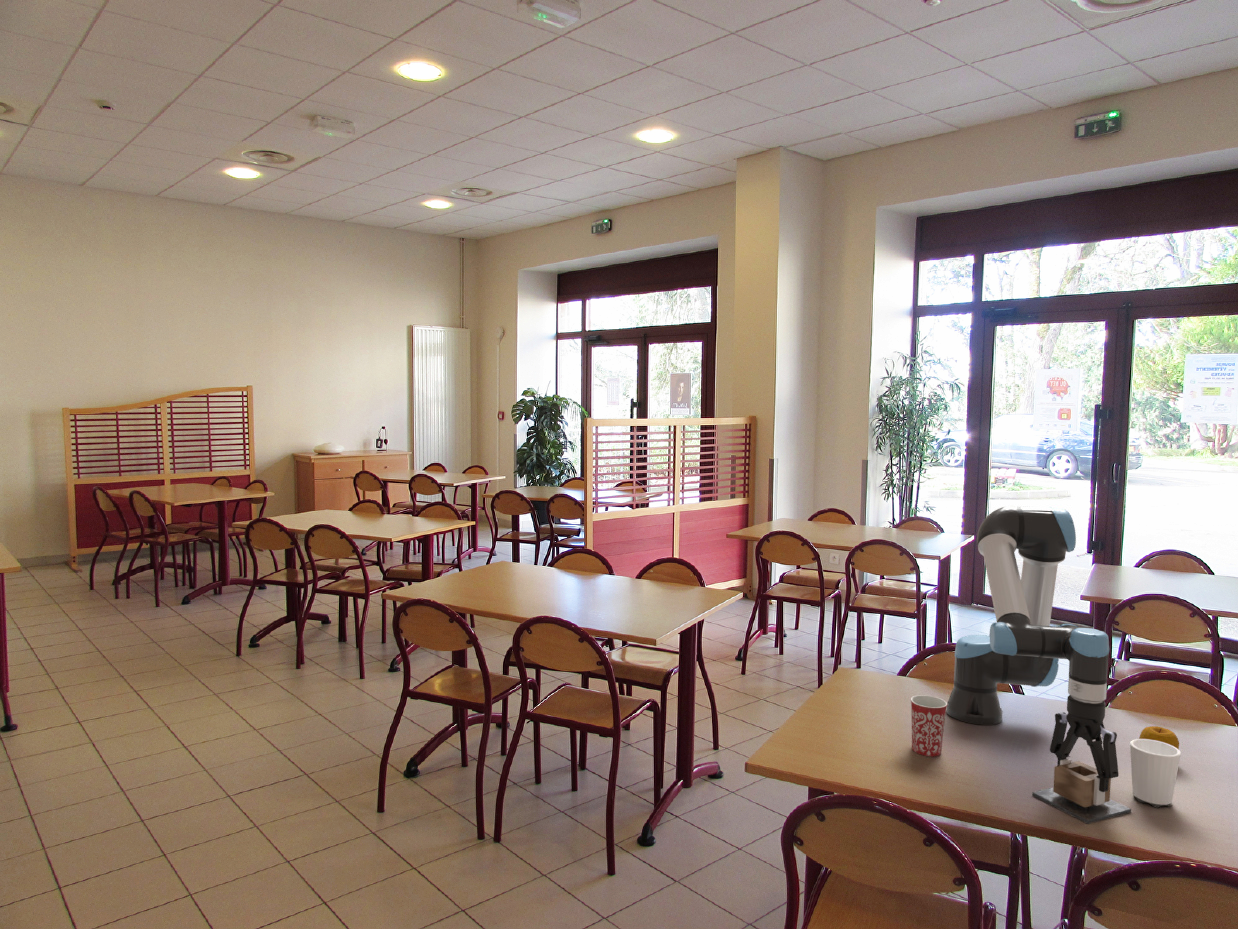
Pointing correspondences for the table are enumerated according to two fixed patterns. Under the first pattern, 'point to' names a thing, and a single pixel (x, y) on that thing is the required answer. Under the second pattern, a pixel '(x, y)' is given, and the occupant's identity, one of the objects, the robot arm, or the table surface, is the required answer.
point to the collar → (1077, 783)
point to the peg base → (1079, 811)
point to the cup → (1154, 771)
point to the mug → (927, 724)
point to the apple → (1160, 735)
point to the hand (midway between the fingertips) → (1081, 795)
